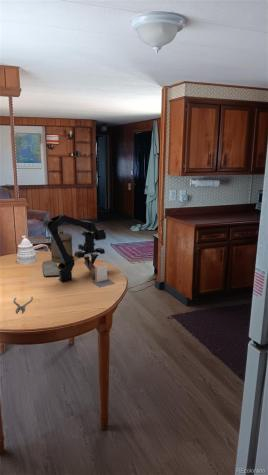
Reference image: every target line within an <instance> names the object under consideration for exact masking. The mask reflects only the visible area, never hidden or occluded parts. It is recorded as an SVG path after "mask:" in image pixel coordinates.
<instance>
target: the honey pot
mask: <svg viewBox="0 0 268 475" xmlns="http://www.w3.org/2000/svg"><path fill="white" fill-rule="evenodd" d="M26 237H27V236H26V235H22V236H21V238H22V240H21V242H20V243H19V244H18V245H17V247H18V250H17V254H16V259H17V264H20V265H31V264H34V263H36V262H37V253H36V251H35V249H34V247H33V243H31V241H30V240H29V239H28V238H26Z"/></svg>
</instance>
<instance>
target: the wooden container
mask: <svg viewBox="0 0 268 475" xmlns="http://www.w3.org/2000/svg"><path fill="white" fill-rule="evenodd" d="M58 234H59V236H60V238H61V240H62V243H63V245H64V247H65V249H66V251H67V253H68V254H70V255H72V256H73V257H74V255H73V254H74V253H73V240H72V239H73V235H72V234H71V233H67V232H64V230H62V229H58ZM50 248H51V249H50V251H51V253H50V254H51V261H54V262H56V264H57V263H58V264H60V263H61V260H60V254H59V252H58V250H57V248H56V246H55V243H54V241H53V239H52V237H51V236H50Z"/></svg>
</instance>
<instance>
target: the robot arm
mask: <svg viewBox="0 0 268 475" xmlns="http://www.w3.org/2000/svg"><path fill="white" fill-rule="evenodd" d="M63 223H68V224H71V225H74V226H76V227H79V228H81V229H83V230H84V231H83V232H82V233H80V235H82V236H83V237H84V242H83V245H82V243H80V244H78V245H77V249H78V250H77V251H74V253H73V254H74V255H73V254H72V255H73V256H72V255H70V254H68V253H67V251H66V249H65V247H64V245H63V243H62V240H61V238H60V236H59V234H58V233H59V228H58V227H60V226H61V225H63ZM42 226H43V228H44V229H45V231H46V232H47V233H48V234H49V235H50V238H51V237H52V239H53V241H54V243H55V246H56V248H57V250H58V252H59V254H60V260H61V263H58V264H57V266H58V269H59V276H58V277H59V278H58V281H59V282H61V283H66V282H67V283H68V282H71V281H73V279H72V278H73V272H72V271H73V268H74V266H75V259H74V257H76V259H84V262H85V261H86V264H87V266H89V260H90V261H91V262H92V264H93V265H94V263H95V261H96V260H97V258H98V257H99V256H100V255H104V254H106V250H105V249H104V248H102V247H96V248H95V246H96V243H95V241H96V242H98V241H104V240H106V238H107V234H106V232H105V229H103V228H101V229H98V228H97V227H96V223H95V222H92V221H89V220H80V219H77V218H73V217H70V216H67V215H66V214H64V213H63V214H62V213H59V214H58V215H56V216H53V217H50V218H47V219H45V220H44V221H43V223H42ZM98 253H99V254H100V255H99V254H98ZM89 255H90V256H89ZM90 257H91V258H90ZM87 266H86V267H87Z"/></svg>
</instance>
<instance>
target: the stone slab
mask: <svg viewBox="0 0 268 475" xmlns="http://www.w3.org/2000/svg"><path fill="white" fill-rule="evenodd" d="M59 271H60V270H59V269H58V264H57V263H56V262H54V261H52V260H46V261H43V262H42V273H43V277H44V278H46V277H47V276H58V277H59Z"/></svg>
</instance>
